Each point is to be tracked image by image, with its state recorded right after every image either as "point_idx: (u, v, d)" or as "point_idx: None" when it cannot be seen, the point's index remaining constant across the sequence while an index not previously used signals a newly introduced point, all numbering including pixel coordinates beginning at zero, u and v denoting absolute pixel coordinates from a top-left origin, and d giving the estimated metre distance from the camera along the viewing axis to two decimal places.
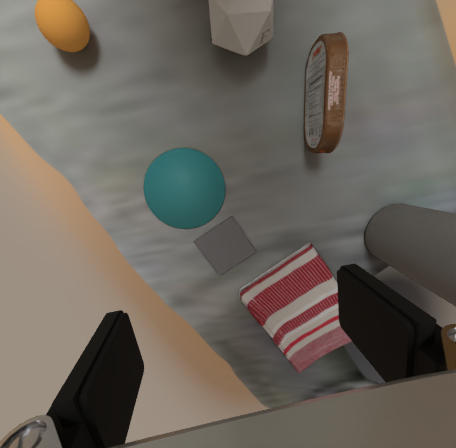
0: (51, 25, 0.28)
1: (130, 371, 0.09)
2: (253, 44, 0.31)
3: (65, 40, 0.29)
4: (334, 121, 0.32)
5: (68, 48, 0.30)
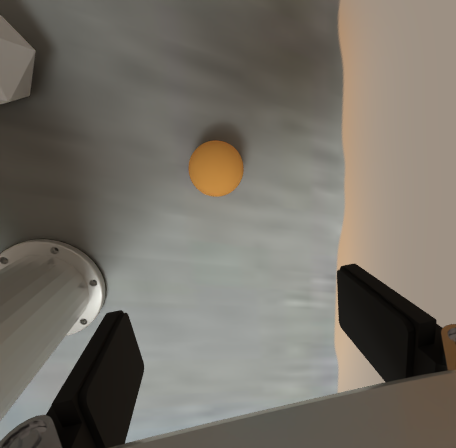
0: (226, 160, 0.23)
1: (130, 371, 0.09)
2: None
3: (223, 145, 0.23)
4: None
5: None
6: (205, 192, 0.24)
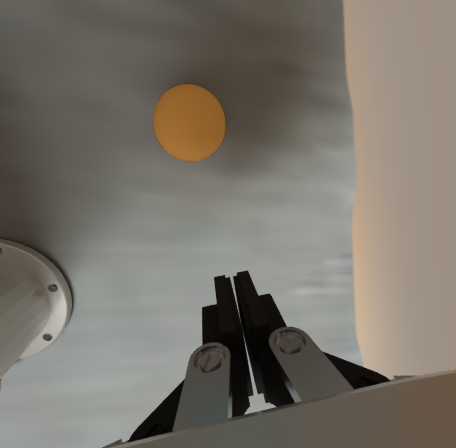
0: (200, 104, 0.17)
1: None
2: None
3: (194, 87, 0.17)
4: None
5: (199, 86, 0.18)
6: (178, 154, 0.19)
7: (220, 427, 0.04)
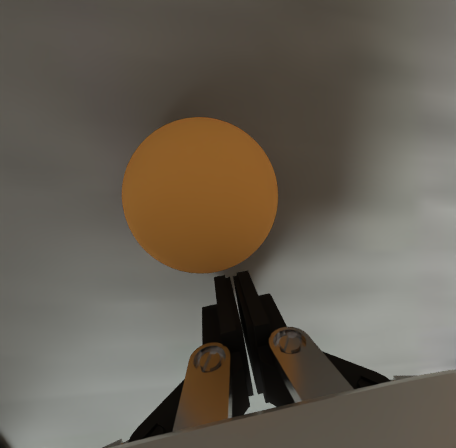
0: (229, 174, 0.07)
1: None
2: None
3: (211, 127, 0.07)
4: None
5: None
6: (180, 270, 0.09)
7: (220, 427, 0.04)
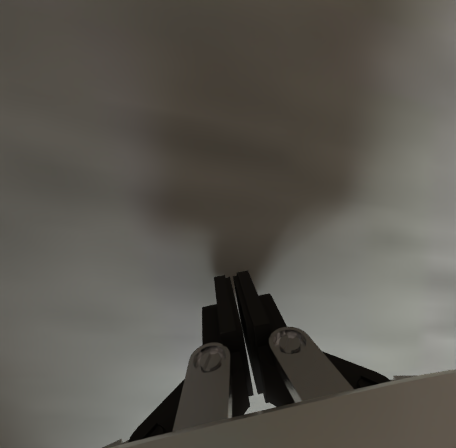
0: None
1: None
2: None
3: None
4: None
5: None
6: None
7: (220, 427, 0.04)
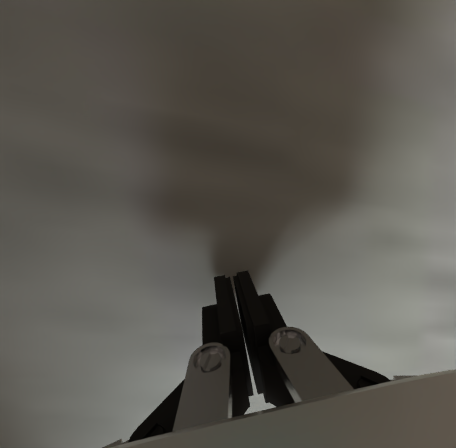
0: None
1: None
2: None
3: None
4: None
5: None
6: None
7: (220, 427, 0.04)
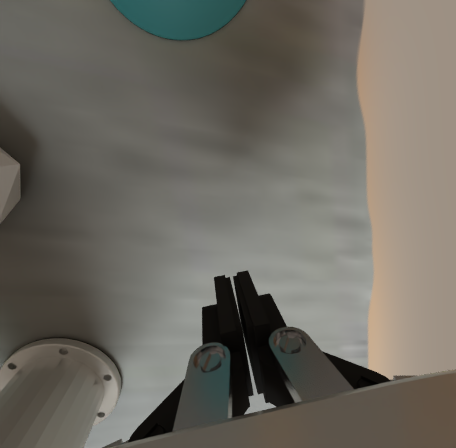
0: None
1: None
2: None
3: None
4: None
5: None
6: None
7: (220, 427, 0.04)
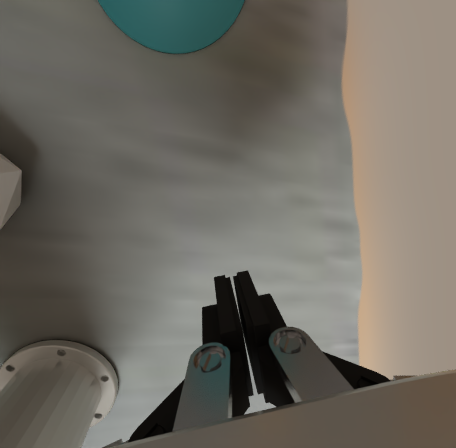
0: None
1: None
2: None
3: None
4: None
5: None
6: None
7: (220, 427, 0.04)
